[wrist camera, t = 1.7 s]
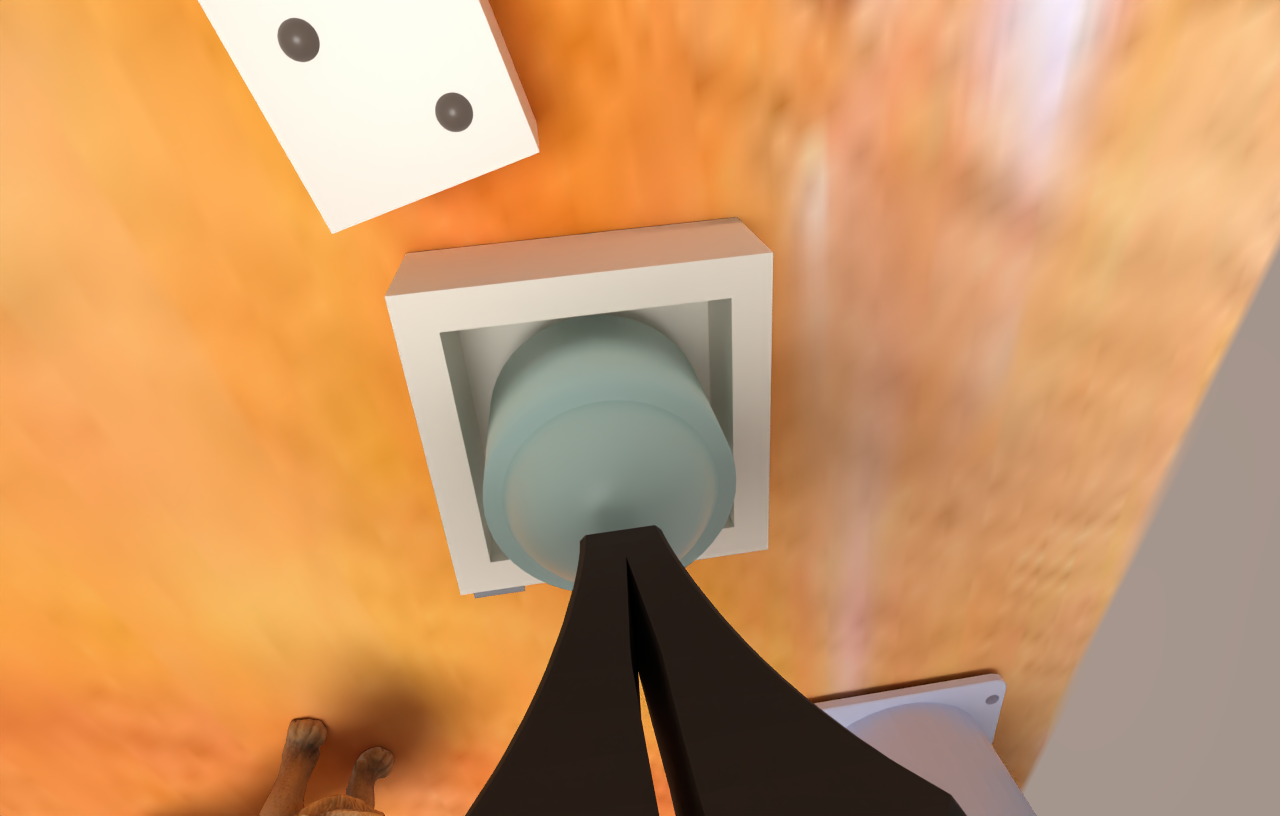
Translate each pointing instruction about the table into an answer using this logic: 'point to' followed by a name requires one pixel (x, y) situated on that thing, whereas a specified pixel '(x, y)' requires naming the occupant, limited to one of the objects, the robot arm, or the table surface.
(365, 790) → the lion figurine
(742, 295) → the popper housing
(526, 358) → the dome plunger
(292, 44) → the die
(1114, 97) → the table surface
